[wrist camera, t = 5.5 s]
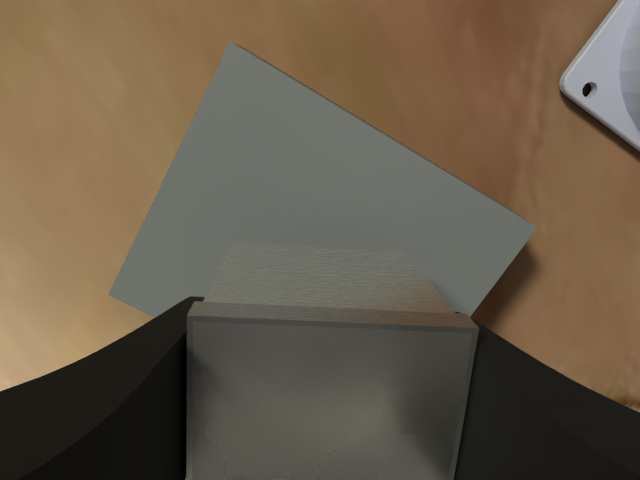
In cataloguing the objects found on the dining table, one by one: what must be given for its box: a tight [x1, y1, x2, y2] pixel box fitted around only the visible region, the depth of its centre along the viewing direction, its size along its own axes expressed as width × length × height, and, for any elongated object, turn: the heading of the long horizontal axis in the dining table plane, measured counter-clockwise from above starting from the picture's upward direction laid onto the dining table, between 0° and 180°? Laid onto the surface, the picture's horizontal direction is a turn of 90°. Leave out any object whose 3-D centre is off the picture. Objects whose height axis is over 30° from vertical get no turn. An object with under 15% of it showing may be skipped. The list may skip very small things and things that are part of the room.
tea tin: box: [186, 242, 479, 480], centre depth 11 cm, size 5×5×5 cm
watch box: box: [109, 42, 538, 317], centre depth 17 cm, size 11×9×4 cm
